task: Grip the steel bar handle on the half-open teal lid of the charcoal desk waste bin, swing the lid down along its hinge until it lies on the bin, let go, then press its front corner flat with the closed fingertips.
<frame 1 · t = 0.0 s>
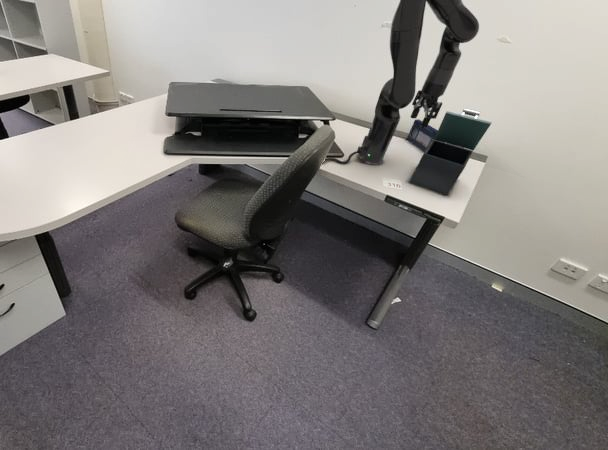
hand: (418, 122, 131), 17 cm above the table, tool pointing down, fingers open, 8 cm apart
bin lid: (463, 126, 119), point 21 cm above the table, hinge at 55.0°
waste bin: (432, 180, 131), on the table
vhs cassette tape: (420, 148, 152), on the table
ink box: (445, 161, 143), on the table
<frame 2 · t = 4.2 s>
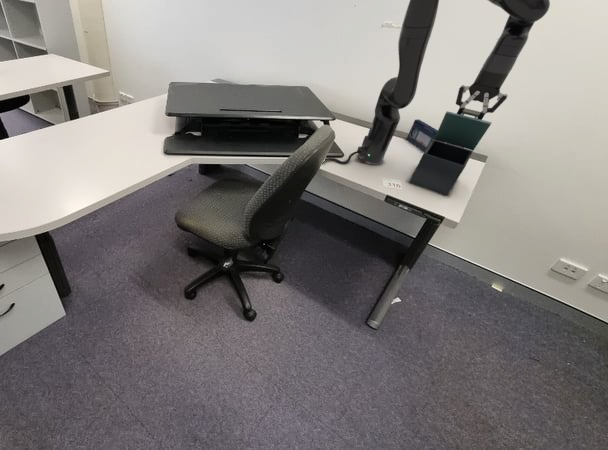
hand: (467, 119, 116), 25 cm above the table, tool pointing down, fingers closed on bin lid, 5 cm apart
bin lid: (463, 126, 119), point 21 cm above the table, hinge at 55.0°, touching gripper
everything else where it was.
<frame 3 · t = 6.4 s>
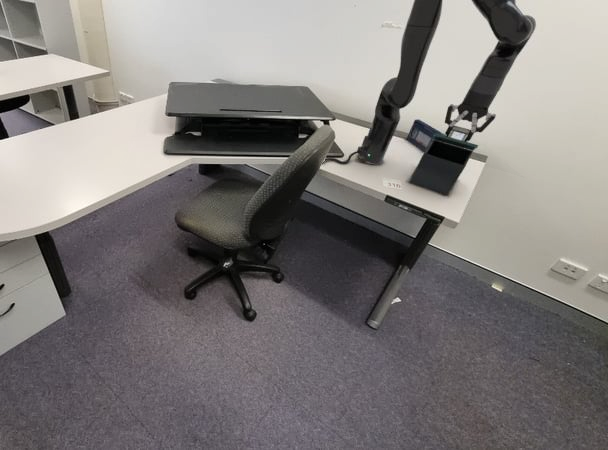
hand: (456, 138, 115), 20 cm above the table, tool pointing down, fingers closed on bin lid, 5 cm apart
bin lid: (457, 136, 119), point 19 cm above the table, hinge at 25.4°, touching gripper
everything else where it was.
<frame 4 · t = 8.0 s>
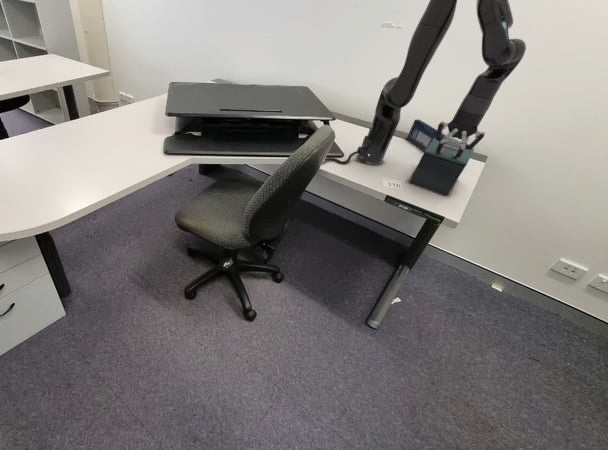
hand: (447, 154, 117), 14 cm above the table, tool pointing down, fingers closed on bin lid, 5 cm apart
bin lid: (452, 145, 120), point 16 cm above the table, hinge at 2.1°, touching gripper
everything else where it was.
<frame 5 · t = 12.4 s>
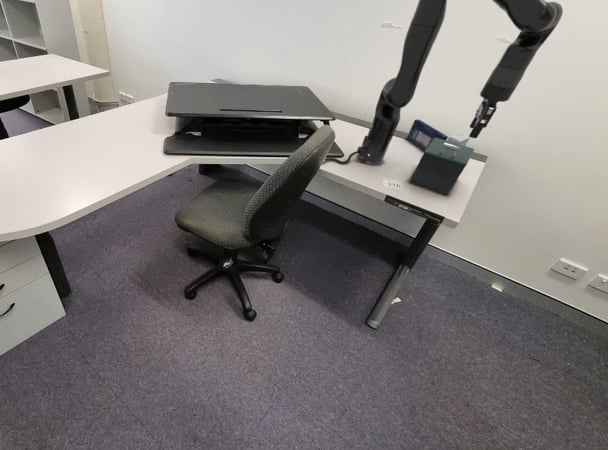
hand: (472, 132, 109), 24 cm above the table, tool pointing down, fingers open, 8 cm apart
bin lid: (452, 145, 120), point 16 cm above the table, hinge at 1.8°
everything else where it was.
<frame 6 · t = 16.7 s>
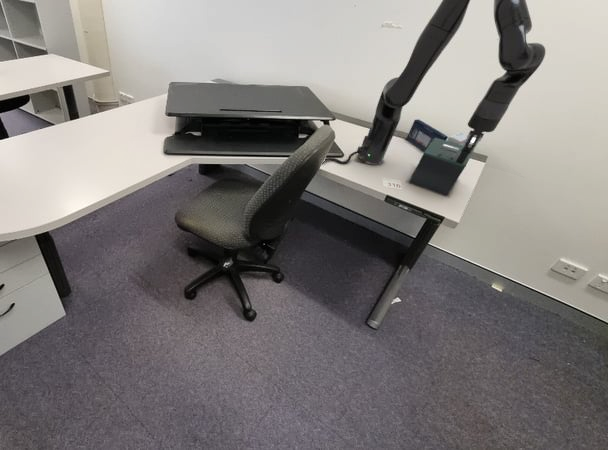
hand: (459, 161, 115), 14 cm above the table, tool pointing down, fingers closed
bin lid: (451, 146, 120), point 15 cm above the table, hinge at -0.2°, touching gripper, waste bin
everything else where it was.
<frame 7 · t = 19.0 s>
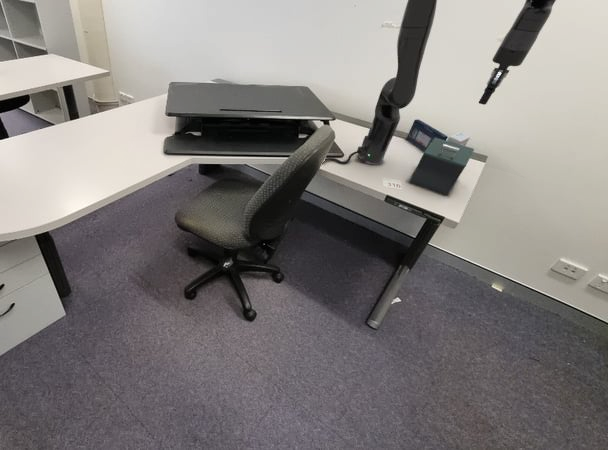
hand: (482, 103, 110), 31 cm above the table, tool pointing down, fingers closed
bin lid: (451, 146, 120), point 15 cm above the table, hinge at -0.2°, touching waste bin
everything else where it was.
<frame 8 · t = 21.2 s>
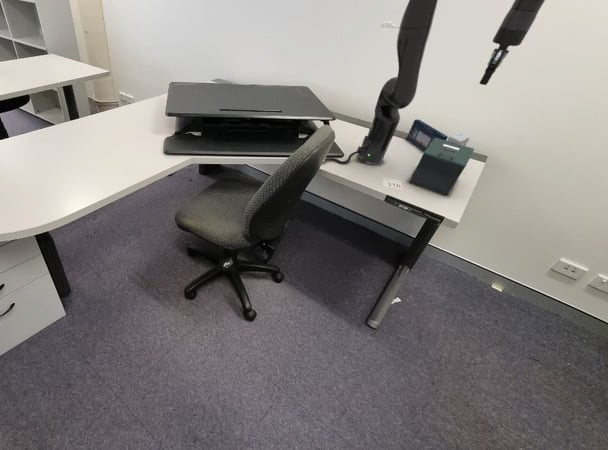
hand: (482, 84, 114), 35 cm above the table, tool pointing down, fingers closed
nothing on the table moved.
at the end: bin lid at +0° (first picture: +55°); the gripper is holding nothing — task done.
